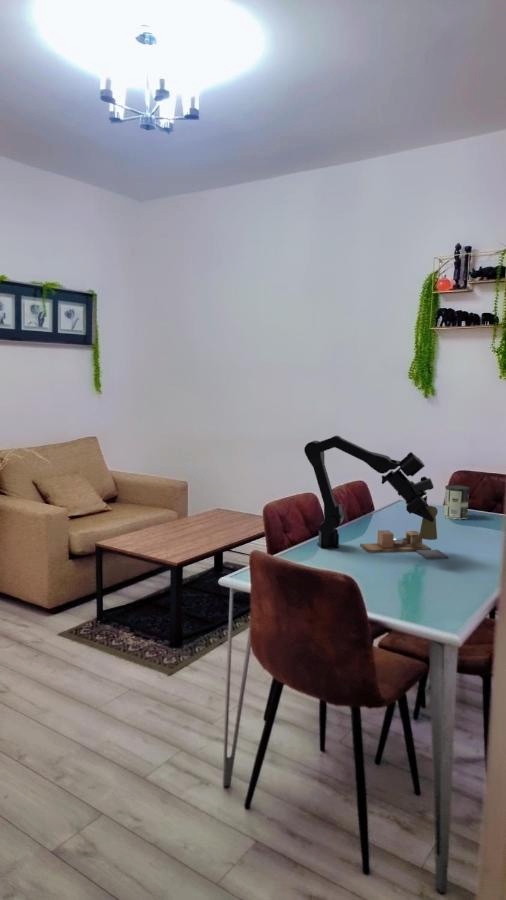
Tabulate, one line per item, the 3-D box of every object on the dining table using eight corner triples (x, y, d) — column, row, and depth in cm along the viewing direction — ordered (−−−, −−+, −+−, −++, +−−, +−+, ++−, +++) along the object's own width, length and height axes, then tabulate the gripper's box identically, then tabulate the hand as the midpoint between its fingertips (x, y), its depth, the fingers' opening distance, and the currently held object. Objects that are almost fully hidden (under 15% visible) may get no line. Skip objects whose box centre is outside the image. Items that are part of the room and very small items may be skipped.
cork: (439, 539, 202) (441, 508, 200) (422, 539, 202) (424, 508, 200) (433, 535, 208) (435, 504, 206) (416, 535, 208) (418, 504, 206)
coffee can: (462, 515, 273) (464, 485, 272) (470, 520, 263) (472, 489, 261) (440, 514, 273) (442, 484, 272) (447, 519, 263) (449, 488, 262)
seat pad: (426, 559, 204) (426, 556, 204) (416, 552, 212) (416, 550, 211) (448, 558, 205) (448, 556, 205) (437, 551, 213) (437, 549, 213)
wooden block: (382, 547, 212) (382, 534, 211) (377, 543, 217) (377, 530, 216) (408, 547, 214) (409, 533, 213) (402, 543, 218) (403, 529, 218)
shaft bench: (367, 552, 210) (368, 536, 209) (360, 546, 218) (360, 531, 217) (431, 551, 214) (431, 535, 213) (421, 544, 221) (422, 529, 221)
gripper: (418, 474, 194) (451, 510, 192) (421, 466, 212) (452, 499, 210) (392, 495, 198) (425, 531, 196) (397, 486, 215) (427, 518, 213)
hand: (433, 519), depth 203 cm, fingers closed on cork, 5 cm apart
